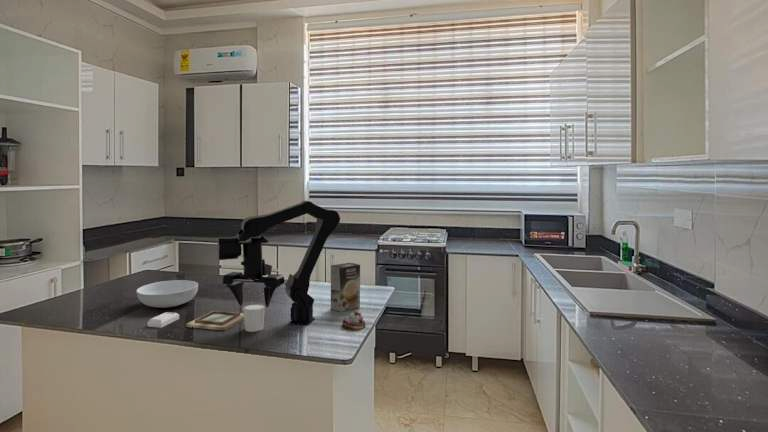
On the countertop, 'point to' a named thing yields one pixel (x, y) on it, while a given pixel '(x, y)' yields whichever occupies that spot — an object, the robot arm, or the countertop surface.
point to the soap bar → (163, 319)
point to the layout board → (216, 320)
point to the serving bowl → (167, 293)
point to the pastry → (354, 321)
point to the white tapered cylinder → (254, 317)
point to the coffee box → (345, 286)
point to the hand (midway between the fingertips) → (254, 306)
